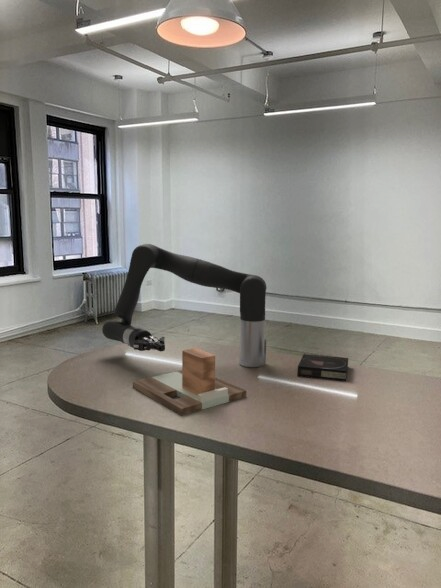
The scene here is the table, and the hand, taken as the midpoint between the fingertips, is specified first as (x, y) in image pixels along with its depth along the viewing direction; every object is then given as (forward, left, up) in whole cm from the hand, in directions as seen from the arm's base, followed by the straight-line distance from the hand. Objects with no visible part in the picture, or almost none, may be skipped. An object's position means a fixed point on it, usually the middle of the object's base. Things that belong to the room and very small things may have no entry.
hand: (162, 348), depth 164 cm
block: (0, +21, -9) cm, 22 cm away
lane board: (0, +15, -11) cm, 19 cm away
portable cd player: (-51, +27, -11) cm, 59 cm away
